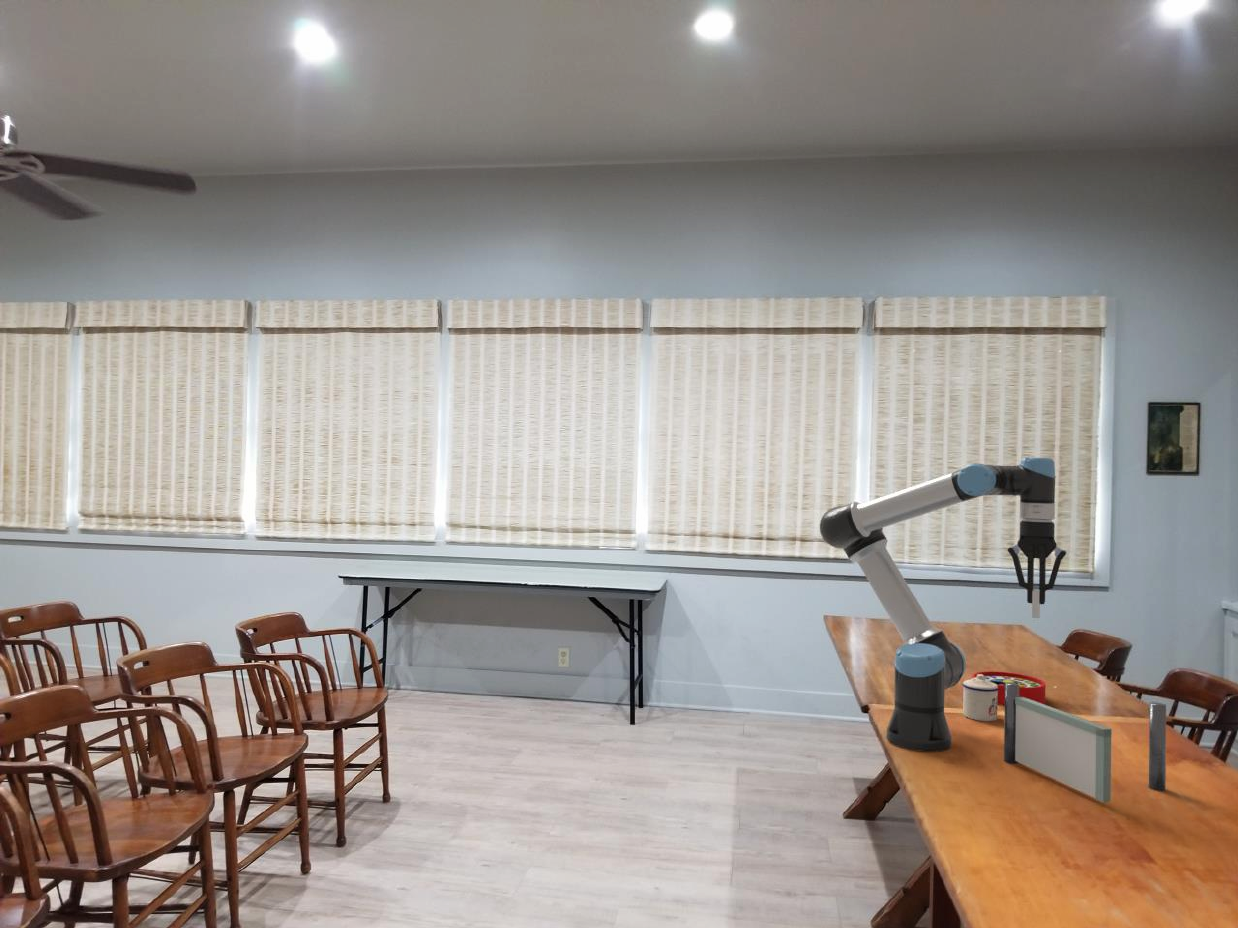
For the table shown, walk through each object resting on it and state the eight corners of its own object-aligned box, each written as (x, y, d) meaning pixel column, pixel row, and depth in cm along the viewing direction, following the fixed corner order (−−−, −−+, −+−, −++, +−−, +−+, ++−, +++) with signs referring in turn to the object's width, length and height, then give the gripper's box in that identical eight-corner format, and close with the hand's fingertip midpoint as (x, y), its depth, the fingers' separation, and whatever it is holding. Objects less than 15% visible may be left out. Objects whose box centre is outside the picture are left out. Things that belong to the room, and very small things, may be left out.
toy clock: (1041, 675, 248) (1049, 691, 229) (1041, 694, 248) (1049, 711, 229) (971, 668, 255) (973, 683, 237) (970, 686, 255) (973, 702, 237)
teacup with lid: (996, 723, 215) (996, 680, 216) (960, 718, 220) (960, 675, 220) (1000, 713, 226) (1001, 671, 226) (965, 707, 230) (966, 667, 231)
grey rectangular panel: (1014, 760, 184) (1015, 697, 184) (1021, 759, 185) (1022, 696, 185) (1102, 802, 161) (1103, 729, 161) (1110, 801, 161) (1111, 728, 162)
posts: (1003, 761, 186) (1004, 684, 186) (1004, 758, 189) (1005, 681, 189) (1165, 791, 170) (1166, 706, 170) (1165, 787, 172) (1165, 703, 172)
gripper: (1006, 519, 196) (1004, 616, 195) (1066, 522, 189) (1065, 622, 189) (1009, 518, 202) (1008, 612, 202) (1068, 521, 195) (1067, 617, 195)
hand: (1035, 617), depth 195 cm, fingers closed
